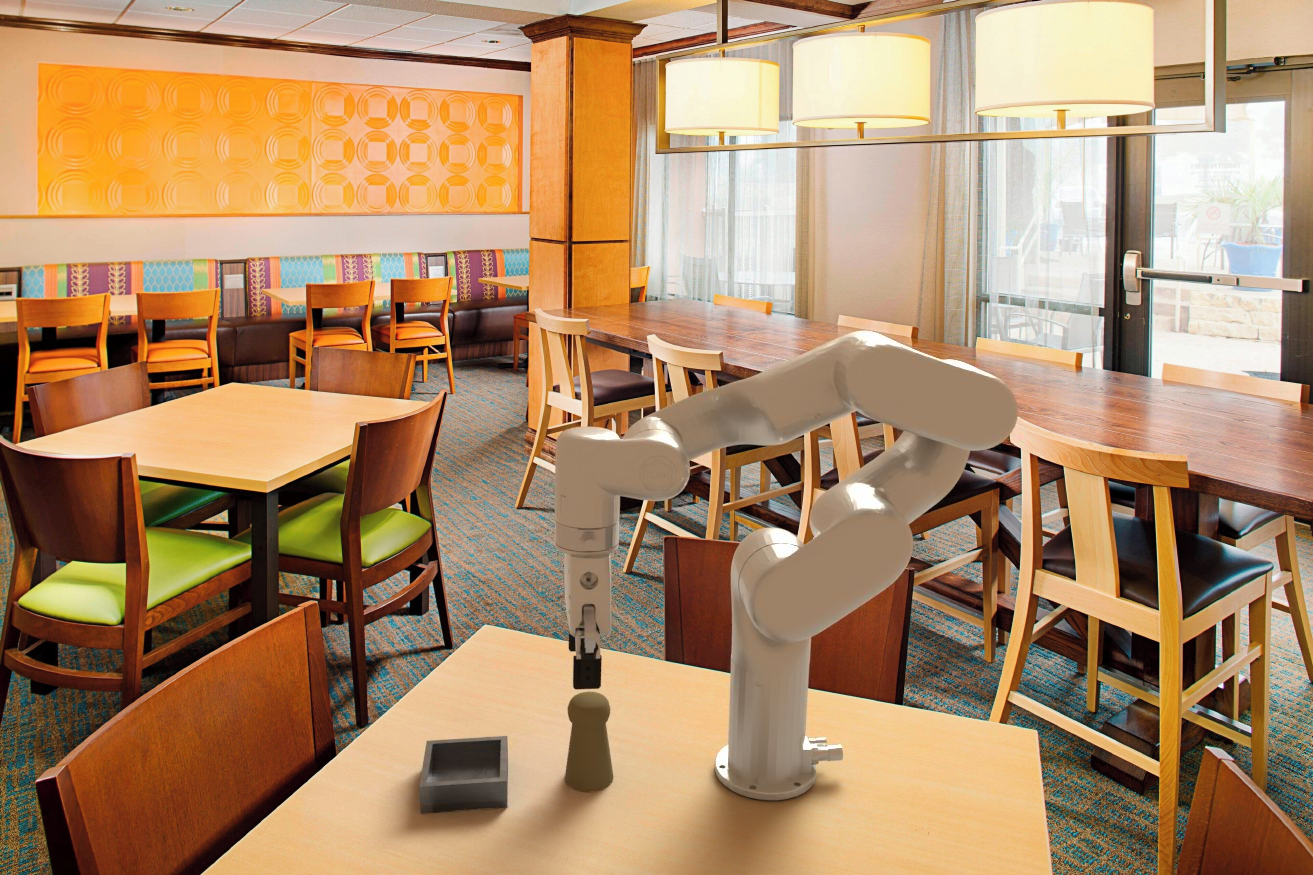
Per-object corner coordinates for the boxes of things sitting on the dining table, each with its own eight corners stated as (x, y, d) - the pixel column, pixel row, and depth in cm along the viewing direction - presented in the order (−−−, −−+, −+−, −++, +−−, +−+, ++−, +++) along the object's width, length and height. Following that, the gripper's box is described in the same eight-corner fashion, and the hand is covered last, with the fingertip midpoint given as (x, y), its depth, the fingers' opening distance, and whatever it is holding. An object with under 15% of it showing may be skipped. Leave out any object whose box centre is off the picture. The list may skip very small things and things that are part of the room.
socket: (507, 760, 126) (507, 735, 125) (507, 807, 116) (506, 780, 115) (427, 765, 124) (426, 740, 123) (420, 813, 115) (419, 786, 114)
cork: (613, 763, 125) (614, 684, 123) (613, 791, 119) (613, 709, 117) (566, 764, 125) (565, 685, 122) (563, 791, 119) (562, 709, 117)
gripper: (626, 559, 107) (622, 702, 111) (611, 510, 123) (608, 636, 127) (557, 560, 106) (555, 705, 110) (551, 510, 122) (550, 638, 126)
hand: (584, 668), depth 119 cm, fingers open, 9 cm apart
